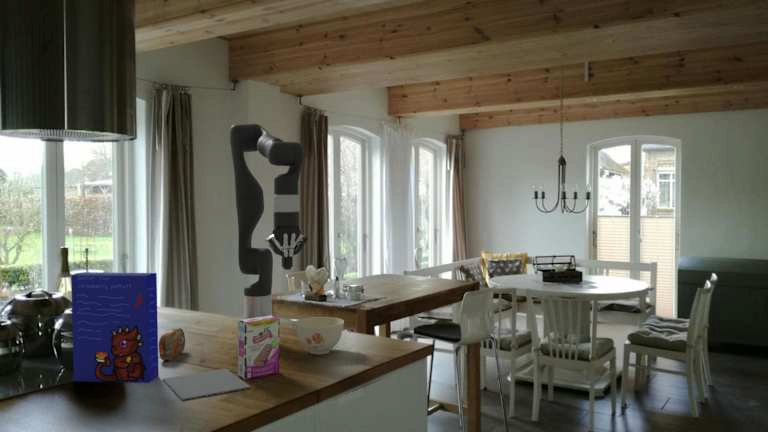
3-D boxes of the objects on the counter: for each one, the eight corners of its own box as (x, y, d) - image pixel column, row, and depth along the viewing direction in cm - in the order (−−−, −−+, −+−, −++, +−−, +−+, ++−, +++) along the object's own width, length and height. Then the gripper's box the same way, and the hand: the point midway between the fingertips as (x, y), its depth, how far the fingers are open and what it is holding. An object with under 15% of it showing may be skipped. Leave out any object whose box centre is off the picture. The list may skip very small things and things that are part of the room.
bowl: (285, 354, 199) (285, 324, 199) (313, 343, 213) (313, 315, 213) (327, 361, 192) (326, 329, 191) (353, 349, 206) (353, 319, 205)
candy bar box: (245, 381, 172) (244, 322, 171) (237, 376, 176) (236, 319, 175) (280, 373, 179) (280, 317, 178) (272, 369, 183) (271, 314, 182)
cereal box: (158, 376, 176) (156, 272, 175) (148, 383, 170) (146, 275, 169) (86, 374, 179) (83, 271, 177) (73, 381, 173) (71, 274, 171)
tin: (167, 363, 190) (166, 336, 189) (157, 363, 190) (156, 336, 190) (186, 351, 205) (185, 325, 204) (177, 350, 205) (176, 325, 205)
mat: (225, 370, 182) (225, 368, 182) (250, 388, 166) (250, 386, 166) (162, 380, 173) (162, 378, 173) (181, 400, 156) (181, 398, 156)
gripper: (301, 209, 187) (302, 266, 188) (260, 210, 180) (260, 269, 181) (312, 210, 181) (313, 269, 182) (270, 211, 174) (270, 272, 174)
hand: (287, 269), depth 181 cm, fingers closed
